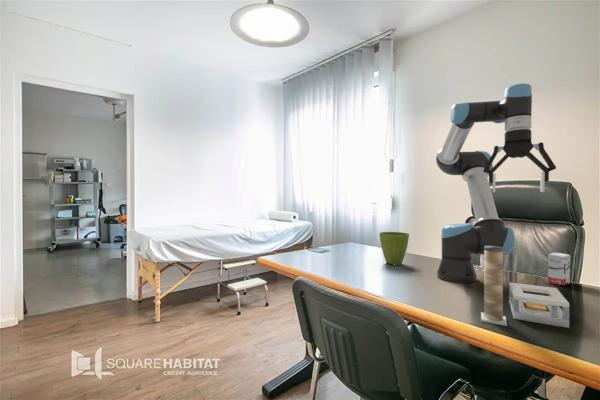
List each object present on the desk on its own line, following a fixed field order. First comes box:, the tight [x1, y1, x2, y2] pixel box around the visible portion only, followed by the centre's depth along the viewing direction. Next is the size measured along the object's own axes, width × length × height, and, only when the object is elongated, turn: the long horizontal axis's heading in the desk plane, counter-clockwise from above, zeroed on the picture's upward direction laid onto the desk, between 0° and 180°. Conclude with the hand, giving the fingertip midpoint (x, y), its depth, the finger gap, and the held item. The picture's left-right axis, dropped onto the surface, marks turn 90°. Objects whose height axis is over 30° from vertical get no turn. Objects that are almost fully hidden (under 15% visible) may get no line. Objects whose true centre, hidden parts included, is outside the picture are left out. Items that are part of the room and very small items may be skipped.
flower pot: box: [378, 231, 410, 266], centre depth 157 cm, size 15×15×16 cm
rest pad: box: [480, 311, 508, 327], centre depth 85 cm, size 6×6×1 cm
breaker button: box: [525, 302, 547, 311], centre depth 89 cm, size 5×5×2 cm
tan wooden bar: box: [483, 246, 504, 321], centre depth 84 cm, size 4×4×20 cm
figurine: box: [474, 254, 484, 267], centre depth 146 cm, size 9×9×12 cm
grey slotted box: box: [508, 281, 570, 329], centre depth 89 cm, size 12×16×6 cm
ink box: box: [547, 252, 571, 286], centre depth 121 cm, size 8×5×12 cm, turn 123°
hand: (517, 192), depth 104 cm, fingers open, 13 cm apart
